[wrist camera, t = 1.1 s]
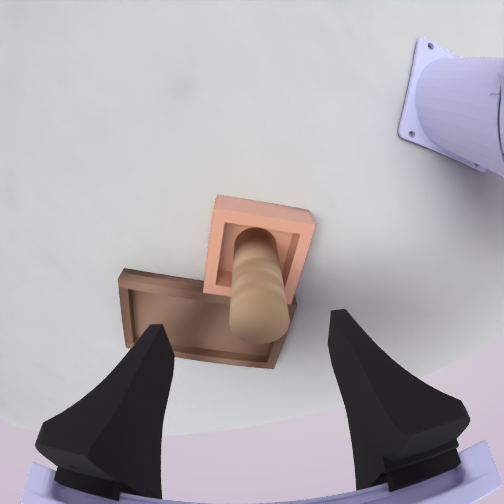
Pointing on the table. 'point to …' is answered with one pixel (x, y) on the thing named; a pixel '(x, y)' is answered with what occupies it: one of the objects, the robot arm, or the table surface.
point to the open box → (263, 216)
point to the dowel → (257, 289)
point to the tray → (189, 320)
